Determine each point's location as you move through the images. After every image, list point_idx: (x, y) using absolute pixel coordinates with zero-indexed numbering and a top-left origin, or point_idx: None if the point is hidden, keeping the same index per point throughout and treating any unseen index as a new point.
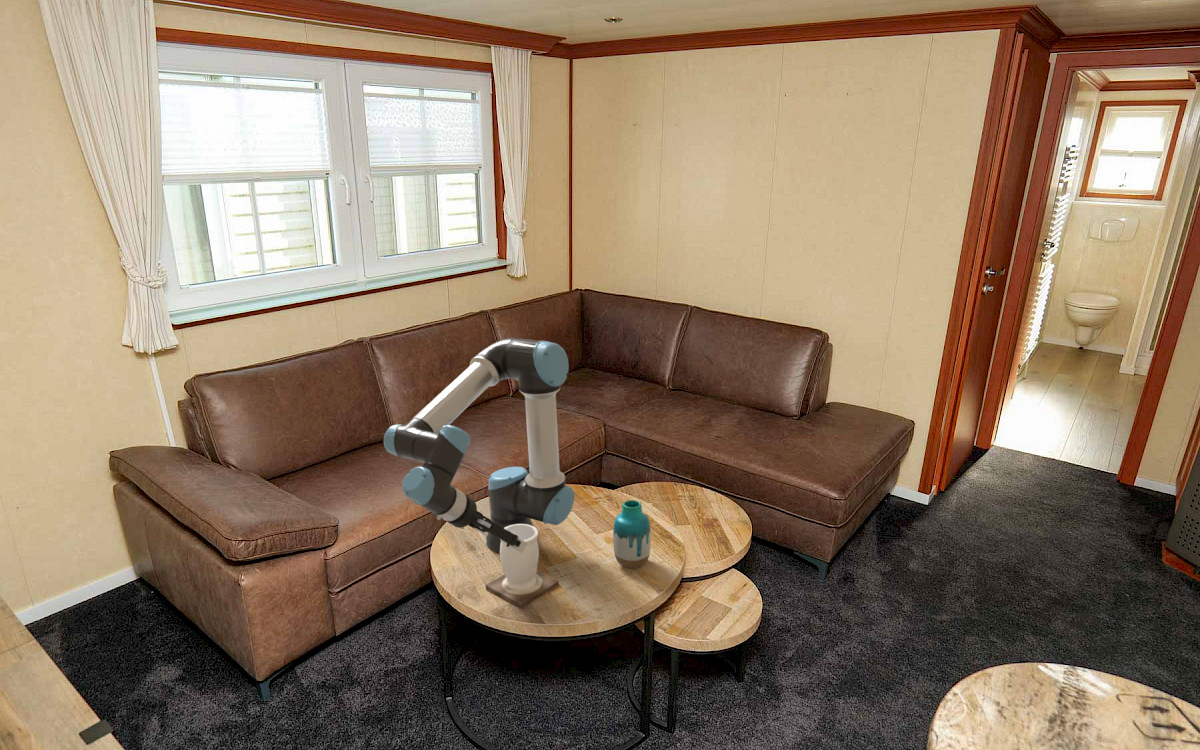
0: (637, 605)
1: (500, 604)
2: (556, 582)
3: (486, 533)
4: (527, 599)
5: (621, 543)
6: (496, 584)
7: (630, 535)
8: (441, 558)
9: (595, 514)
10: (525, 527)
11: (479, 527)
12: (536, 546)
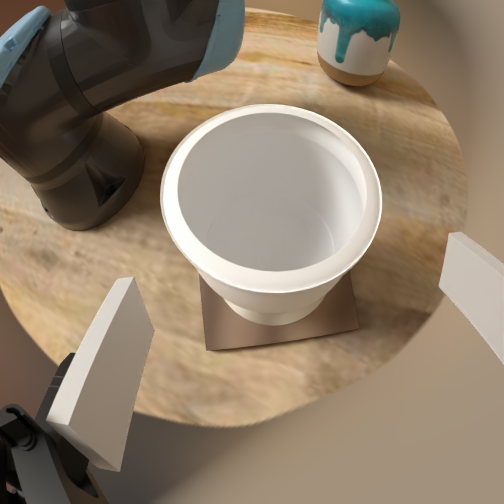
0: (458, 150)
1: (302, 362)
2: None
3: (146, 330)
4: (352, 301)
5: (376, 48)
6: (227, 326)
7: (394, 30)
8: (33, 336)
9: None
10: (224, 128)
11: (121, 393)
12: (340, 172)
